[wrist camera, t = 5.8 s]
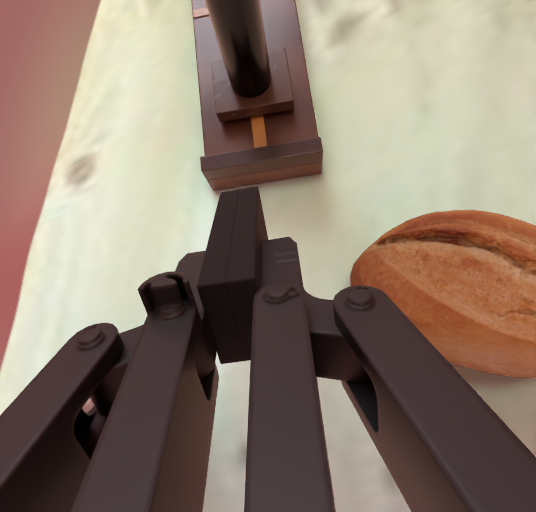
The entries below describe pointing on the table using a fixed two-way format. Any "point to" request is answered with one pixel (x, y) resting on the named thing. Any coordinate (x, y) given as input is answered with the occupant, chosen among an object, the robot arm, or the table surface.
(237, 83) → the tap
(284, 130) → the rail
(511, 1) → the table surface
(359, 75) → the table surface
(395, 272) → the bread roll
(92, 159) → the table surface
